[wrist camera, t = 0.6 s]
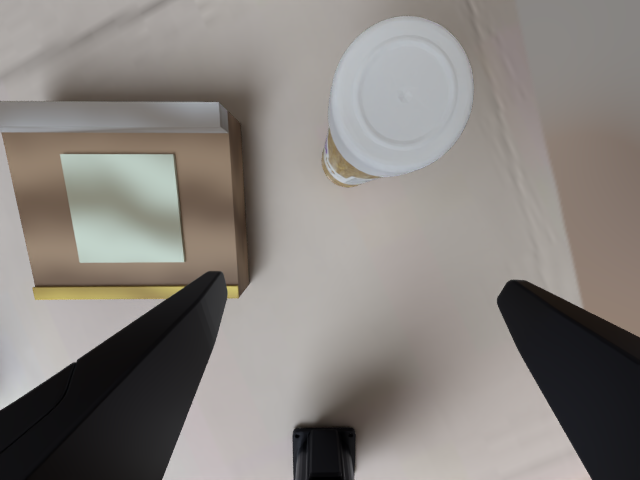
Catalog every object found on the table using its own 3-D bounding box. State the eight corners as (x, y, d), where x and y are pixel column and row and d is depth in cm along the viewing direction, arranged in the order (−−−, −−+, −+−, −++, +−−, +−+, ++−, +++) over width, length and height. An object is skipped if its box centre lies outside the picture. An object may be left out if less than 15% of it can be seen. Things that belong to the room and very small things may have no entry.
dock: (249, 284, 22) (232, 305, 18) (75, 285, 22) (14, 306, 18) (240, 123, 20) (218, 102, 15) (44, 122, 20) (-35, 100, 15)
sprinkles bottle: (318, 137, 20) (321, 18, 7) (371, 129, 20) (480, -5, 7) (325, 191, 21) (340, 181, 8) (376, 184, 21) (482, 161, 8)
